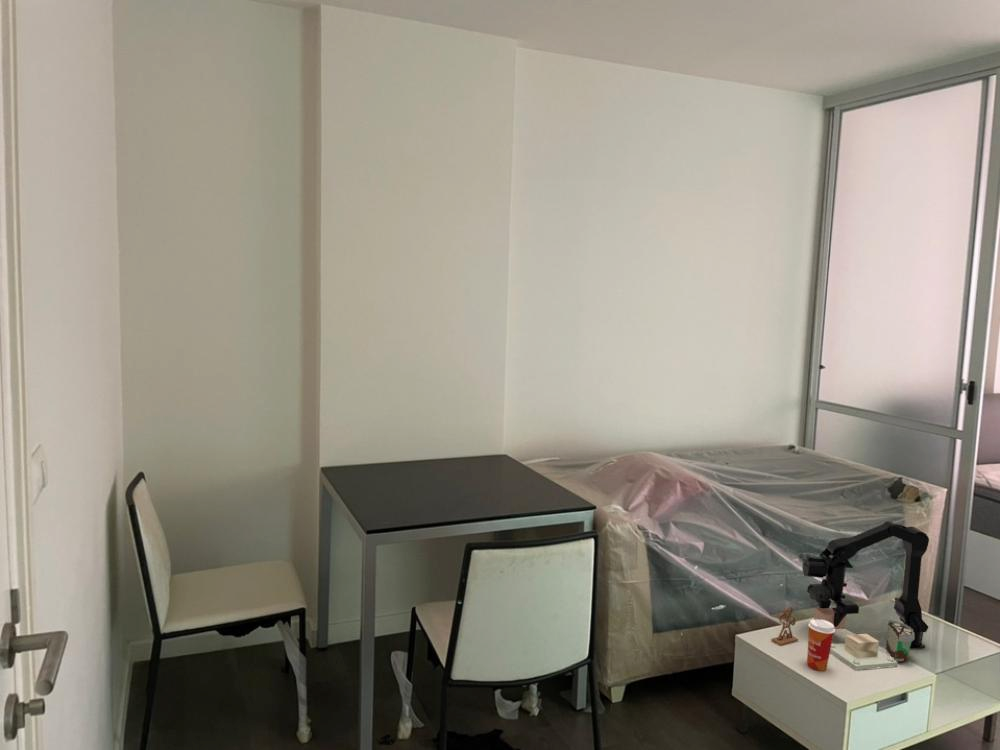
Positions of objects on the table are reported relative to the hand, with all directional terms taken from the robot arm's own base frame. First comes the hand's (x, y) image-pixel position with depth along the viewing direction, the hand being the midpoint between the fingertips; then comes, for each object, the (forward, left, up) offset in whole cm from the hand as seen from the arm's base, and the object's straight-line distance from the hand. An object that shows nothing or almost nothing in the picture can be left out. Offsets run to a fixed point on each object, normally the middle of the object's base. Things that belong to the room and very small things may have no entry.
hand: (829, 622), depth 260 cm
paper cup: (+19, +18, -5) cm, 27 cm away
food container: (-14, +17, -5) cm, 23 cm away
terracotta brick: (0, 0, -1) cm, 1 cm away
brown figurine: (+18, +1, -5) cm, 19 cm away
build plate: (0, +15, -5) cm, 16 cm away
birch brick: (0, +15, -3) cm, 15 cm away
